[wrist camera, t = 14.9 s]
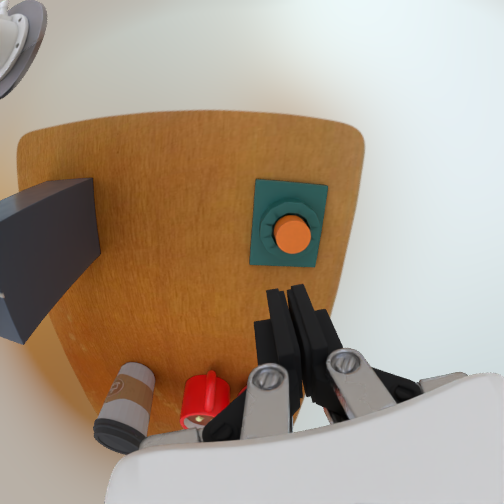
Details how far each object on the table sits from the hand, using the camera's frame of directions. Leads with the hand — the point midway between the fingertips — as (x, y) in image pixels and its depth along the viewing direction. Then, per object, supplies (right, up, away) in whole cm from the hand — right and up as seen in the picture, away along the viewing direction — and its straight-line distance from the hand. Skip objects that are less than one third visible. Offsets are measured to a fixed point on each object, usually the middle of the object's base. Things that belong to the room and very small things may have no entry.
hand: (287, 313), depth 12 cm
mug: (-9, -19, +30) cm, 37 cm away
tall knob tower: (-25, +7, +17) cm, 31 cm away
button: (+3, +5, +17) cm, 18 cm away
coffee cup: (-21, -18, +29) cm, 40 cm away
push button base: (+2, +6, +19) cm, 20 cm away
